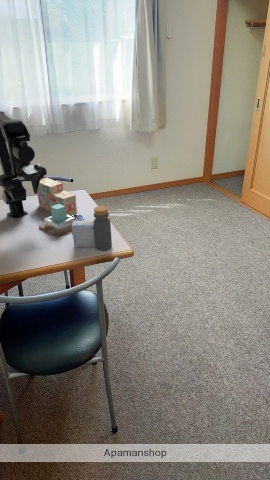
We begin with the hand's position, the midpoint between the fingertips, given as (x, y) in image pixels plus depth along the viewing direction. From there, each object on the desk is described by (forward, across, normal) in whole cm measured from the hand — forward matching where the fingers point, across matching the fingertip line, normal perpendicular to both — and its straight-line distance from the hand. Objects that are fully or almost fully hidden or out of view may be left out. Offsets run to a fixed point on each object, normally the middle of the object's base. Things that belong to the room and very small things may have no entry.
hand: (25, 197), depth 136 cm
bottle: (+13, +8, -34) cm, 37 cm away
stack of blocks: (+13, +18, +6) cm, 23 cm away
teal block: (+12, +8, -9) cm, 17 cm away
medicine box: (+13, +5, -28) cm, 31 cm away
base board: (+13, +8, -9) cm, 18 cm away
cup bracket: (+13, +8, -9) cm, 18 cm away
